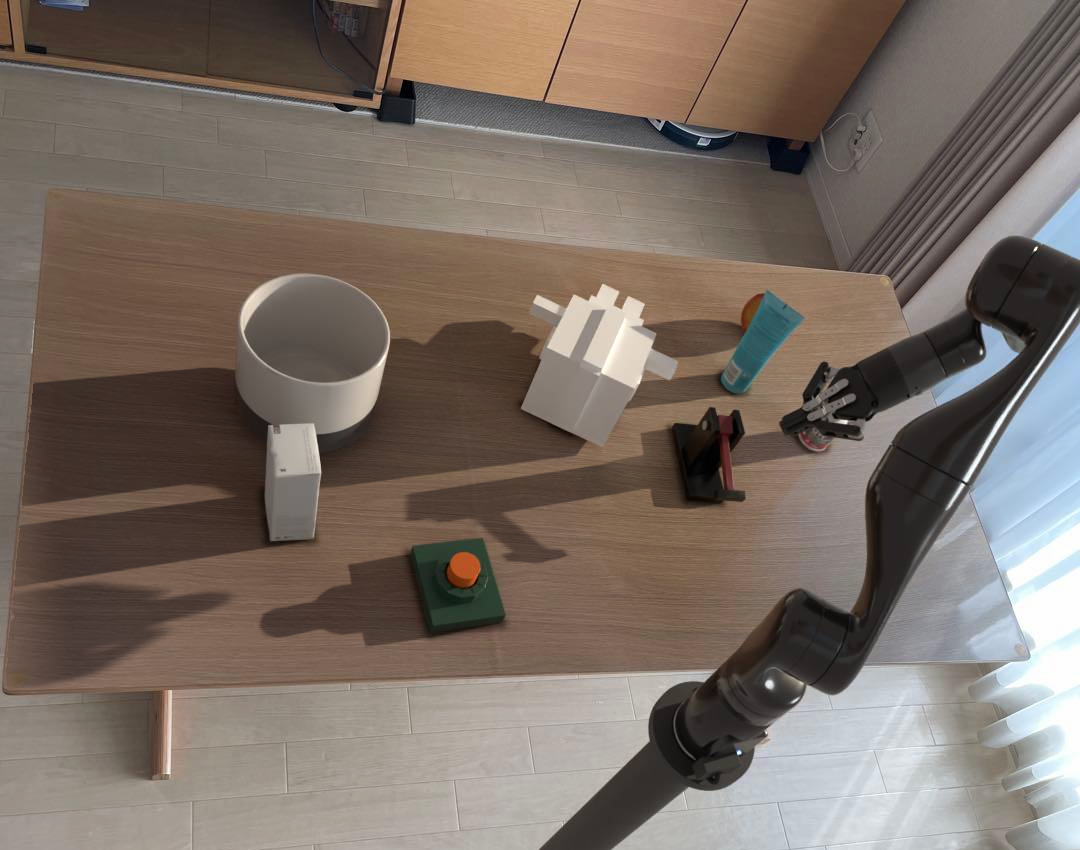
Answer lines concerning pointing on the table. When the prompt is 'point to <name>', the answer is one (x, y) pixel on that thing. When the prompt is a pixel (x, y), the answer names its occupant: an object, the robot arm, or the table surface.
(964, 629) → the table surface
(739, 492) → the red and black bar
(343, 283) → the planter
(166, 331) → the table surface
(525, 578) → the table surface
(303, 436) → the cosmetic box
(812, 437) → the pill bottle
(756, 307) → the fruit
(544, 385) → the white voxel figure
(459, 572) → the button
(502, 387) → the table surface
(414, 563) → the button box
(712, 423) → the black bracket
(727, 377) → the tube
